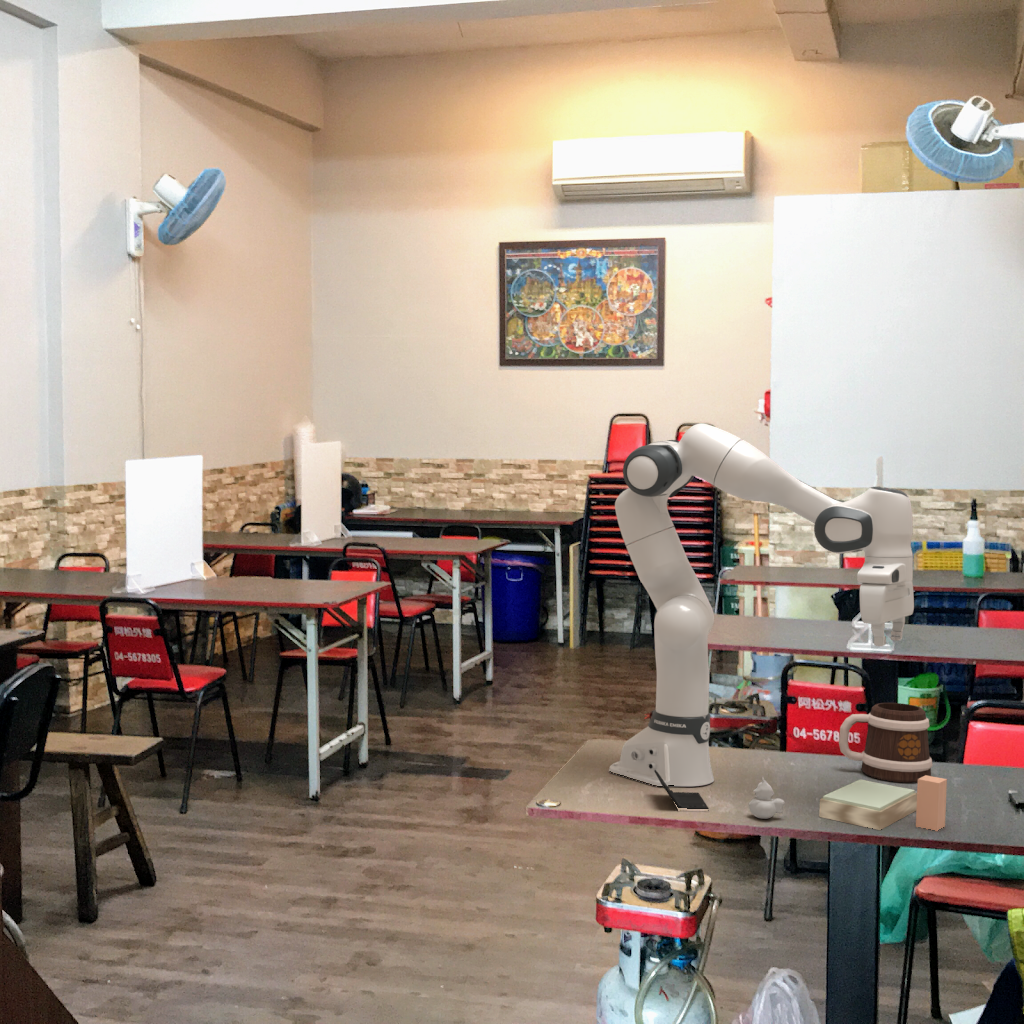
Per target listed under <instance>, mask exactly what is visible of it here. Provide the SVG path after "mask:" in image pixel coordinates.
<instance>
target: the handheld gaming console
mask: <svg viewBox="0 0 1024 1024" xmlns="http://www.w3.org/2000/svg"><path fill="white" fill-rule="evenodd" d="M654 772H655V774H656V775H657V777H658V779H659V781H660V783H661V784H662V786H663V787H662V788H663V789H664V790H665V791H666V793H667V794H668V796H669V798H670V797H671V798H672V799H671V798H670V799H671V801H672V800H673V801H674V802H675V804H676V805H677V807H678V808H687V809H709V807H708V805H707V803H706V802H705V800H704V799H703V797H702V795H701V794H700V793H699V792H690V791H689V792H687V791H686V792H684V791H683V792H681V791H678V792H677V791H673V790H671V788H669V786H667V785H666V783H665V782H664V781H663V779H662V778H661V776H660V775H659V773H658V772H657V771H656V770H654ZM673 801H672V802H673Z"/></svg>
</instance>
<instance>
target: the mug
mask: <svg viewBox="0 0 1024 1024" xmlns="http://www.w3.org/2000/svg"><path fill="white" fill-rule="evenodd" d="M926 714H927V713H926V711H925V710H924V709H923V708H922V707H920V706H917V705H914V704H913V705H912V704H909V703H898V702H880V703H875V704H874V705H873V706H872V707H871V711H870V712H869V713H868V714H866V713H855V714H854V713H852V714H850V715H849V716H848V717H846V718H845V719H844V721H843V722H842V724H841V725H840V727H839V737H838V744H839V745H838V746H839V749H840V753H842V754H843V755H844V756H845V757H846V758H848V760H851V761H855V762H856V761H857V762H861V770H862V772H863V773H864V774H865V775H866V776H868V777H870V776H871V778H872V779H876V778H877V779H878V780H880V779H881V781H885V780H887V782H891V781H893V782H894V783H901V782H903V783H905V784H907V783H908V784H911V783H912V782H915V783H918V779H919V778H921V777H923V776H925V775H927V776H932V767H934V766H933V759H932V757H931V756H930V747H929V746H930V745H929V735H928V734H929V733H928V731H929V730H928V729H929V728H930V721H929V718H928V717H927V715H926ZM857 723H862V724H868V725H867V726H868V727H867V731H866V733H867V734H866V738H865V744H864V745H865V747H864V750H863V751H862V752H857V751H852V749H850V747H849V735H850V730H851V728H852V727H853V726H854V725H855V724H857ZM877 779H876V780H877Z"/></svg>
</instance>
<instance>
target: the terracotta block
mask: <svg viewBox="0 0 1024 1024" xmlns="http://www.w3.org/2000/svg"><path fill="white" fill-rule="evenodd" d="M947 782H948V779H947V778H942V777H938V776H932V775H931V776H927V775H925V776H923V777H921V778H919V779H918V782H917V786H916V787H917V789H916V791H917V792H916V793H917V810H916V811H915V813H916V814H915V815H916V816H915V828H918V827H921V828H920V829H923V828H926V829H925V830H928V829H931V830H930V831H932V830H935V831H934V832H939V831H940V830H939V829H941V828H942V829H944V828H945V827H946V810H947V805H946V804H947V786H948V785H947V784H948V783H947ZM943 827H944V828H943ZM942 829H941V830H942ZM938 830H939V831H938Z"/></svg>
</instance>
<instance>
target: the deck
mask: <svg viewBox="0 0 1024 1024" xmlns="http://www.w3.org/2000/svg"><path fill="white" fill-rule="evenodd" d="M916 810H917V792H916V790H915V789H911V788H906V787H900V786H895V785H890V784H886V783H880V782H875V781H870V780H865V779H861V778H860V779H858V780H856V781H853V782H852V783H849V784H847V785H845V786H842V787H841V788H837V789H836V790H835V789H834V791H831V792H829V793H827V794H825V795H822V797H821V798H820V799H819V813H818V815H819V816H818V817H819V818H823V819H827V820H832V821H837V822H842V823H846V824H850V825H855V826H859V827H864V828H867V827H868V828H867V829H872V828H873V830H878V831H882V830H884V829H886V827H889V826H890V825H893V824H895V823H896V822H898V821H899V820H901V819H904V818H905V817H907V816H910V815H911V814H913V813H916ZM881 829H882V830H881Z"/></svg>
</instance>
